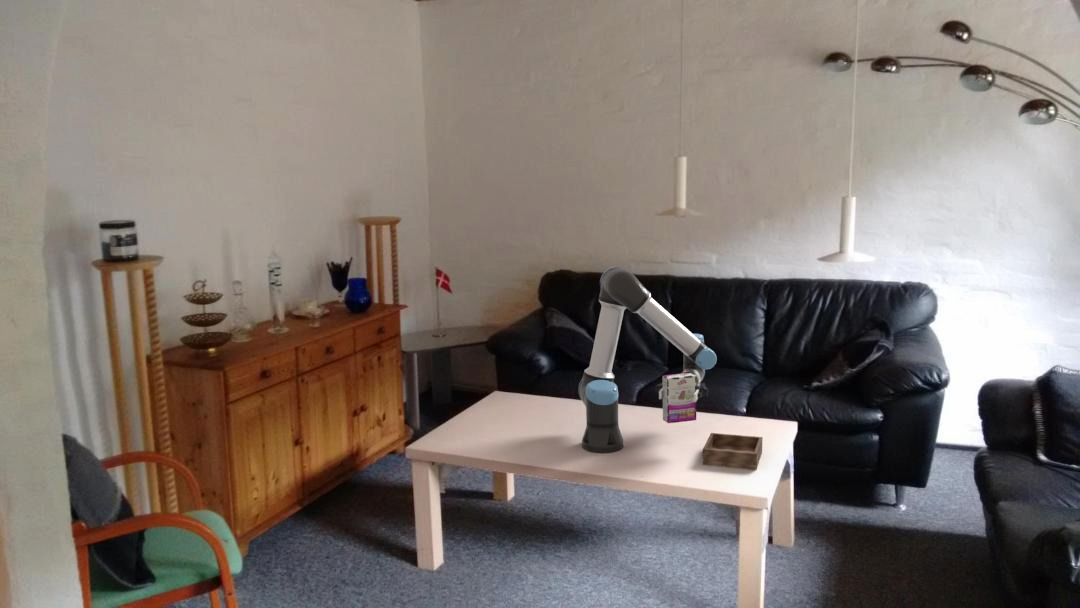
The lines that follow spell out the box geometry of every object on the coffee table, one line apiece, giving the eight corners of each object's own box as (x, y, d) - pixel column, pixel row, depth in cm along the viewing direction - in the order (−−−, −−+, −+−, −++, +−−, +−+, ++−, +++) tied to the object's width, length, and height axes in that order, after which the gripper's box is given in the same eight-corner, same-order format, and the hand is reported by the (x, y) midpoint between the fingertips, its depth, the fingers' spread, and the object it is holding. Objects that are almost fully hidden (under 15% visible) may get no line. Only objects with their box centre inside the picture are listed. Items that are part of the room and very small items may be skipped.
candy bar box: (690, 416, 309) (691, 372, 306) (696, 420, 304) (697, 375, 302) (661, 419, 306) (662, 374, 304) (667, 423, 302) (667, 378, 299)
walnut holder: (702, 464, 295) (702, 449, 294) (710, 447, 311) (711, 432, 310) (756, 469, 289) (756, 454, 288) (762, 452, 305) (762, 437, 304)
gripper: (720, 393, 317) (711, 409, 297) (657, 388, 325) (643, 404, 305) (721, 373, 316) (711, 388, 296) (657, 369, 324) (643, 383, 304)
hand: (677, 396), depth 300 cm, fingers closed on candy bar box, 11 cm apart
